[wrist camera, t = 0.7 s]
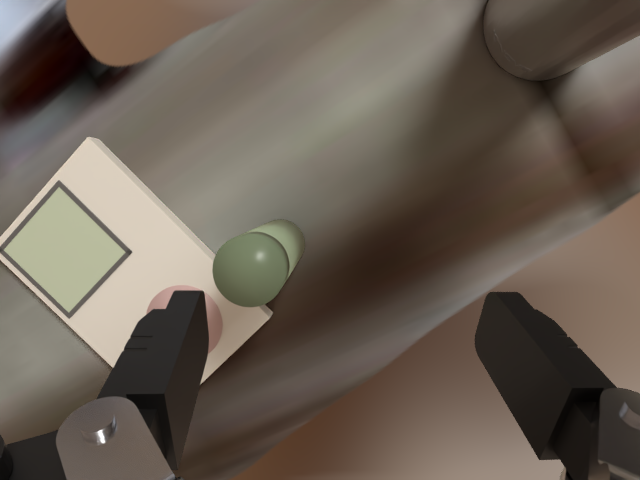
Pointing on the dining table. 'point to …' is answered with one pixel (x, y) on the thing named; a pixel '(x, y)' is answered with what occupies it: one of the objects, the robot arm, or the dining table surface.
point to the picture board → (116, 257)
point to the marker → (258, 263)
